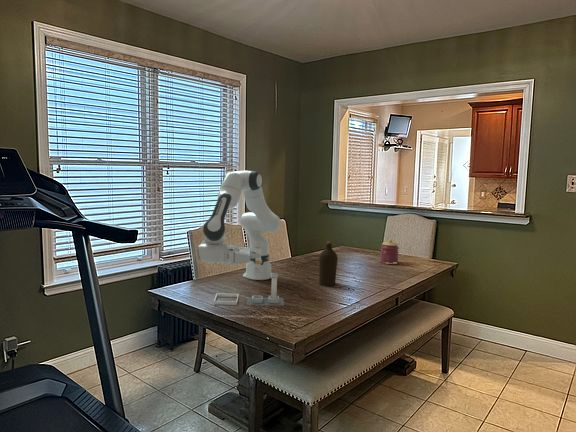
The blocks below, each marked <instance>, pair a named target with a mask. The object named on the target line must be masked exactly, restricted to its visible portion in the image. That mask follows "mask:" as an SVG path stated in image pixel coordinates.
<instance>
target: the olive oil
mask: <svg viewBox="0 0 576 432" xmlns="http://www.w3.org/2000/svg"><path fill="white" fill-rule="evenodd" d="M325 243H326V244H325V248H324V250H322V251H321V252H320V254H319V256H318V284H319V285H320V286H323V285H324V287H333V285H334V286H335V285H336V280H337V278H336V277H337V268H338V267H337V266H338V255H337V253H336V252H335V250H334V249H333V246H332V245H333V244H332V243H333V242H332V241H330V240H328V241H326V242H325Z"/></svg>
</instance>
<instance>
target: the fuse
mask: <svg viewBox="0 0 576 432" xmlns="http://www.w3.org/2000/svg"><path fill="white" fill-rule="evenodd" d="M270 279H271V290H270V296H271V299H277V297H276V296H277V295H278V293H277V288H278V285H277V284H278V272H271V278H270Z"/></svg>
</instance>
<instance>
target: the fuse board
mask: <svg viewBox="0 0 576 432" xmlns="http://www.w3.org/2000/svg"><path fill="white" fill-rule="evenodd" d="M276 297H277V299H271V295H268V297H263V295H254V294H253V295H251V296H248V297H246V305H248V306H250V305H251V306H285V302H284V297H279V295H276Z"/></svg>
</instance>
